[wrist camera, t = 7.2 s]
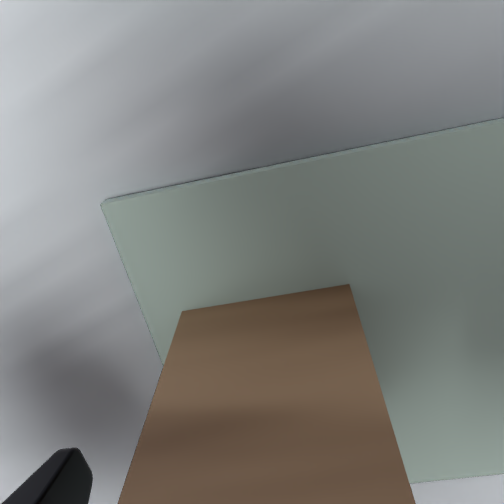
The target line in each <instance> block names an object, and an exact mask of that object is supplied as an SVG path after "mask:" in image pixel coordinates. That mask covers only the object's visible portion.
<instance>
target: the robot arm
mask: <svg viewBox="0 0 504 504" xmlns="http://www.w3.org/2000/svg"><path fill="white" fill-rule="evenodd" d="M92 481H93V477H92V472H91V469H90V468H89V466H88V464H87V462H86V460H85V458H84V457H83V455H82V453H81V451H80V450H79V449H78V448H66V449H60V450H58V451H57V452H56V453H54V454H53V455H52V456H51V457H50V458H49V459H48V460H47V461H46V462H45V463H44V464H43V465H42V466H41V467H40V468H39V469H38V470H37V471H35V472H34V473H33V474H32V475H31V476H30V477H29V478H28V479H27V480H26V481H25V482H24V483H23V484H22V485H21V486H20V487H19V488H18V489H17V490H16V491H14V492H13V493H12V494H11V495H10V496H9V497H8V498H7V499H6V500H5V501H4V502H3V503H2V504H88V502H89V497H90V492H91V487H92Z"/></svg>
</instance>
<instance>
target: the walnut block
mask: <svg viewBox="0 0 504 504" xmlns="http://www.w3.org/2000/svg"><path fill="white" fill-rule="evenodd" d="M118 504H415V500H414V497H413V494H412V490H411V487H410V484H409V480H408V477H407V474H406V470H405V467H404V464H403V460H402V457H401V454H400V450H399V447H398V444H397V440H396V437H395V434H394V430H393V427H392V424H391V420H390V417H389V414H388V411H387V407H386V404H385V401H384V397H383V394H382V391H381V387H380V384H379V381H378V377H377V374H376V371H375V367H374V364H373V361H372V357H371V354H370V351H369V347H368V344H367V341H366V337H365V334H364V331H363V327H362V324H361V321H360V317H359V314H358V311H357V307H356V304H355V301H354V297H353V294H352V291H351V288H350V284H346V285H340V286H333V287H327V288H321V289H315V290H309V291H303V292H297V293H290V294H284V295H278V296H272V297H266V298H260V299H254V300H248V301H241V302H235V303H229V304H223V305H217V306H211V307H205V308H199V309H192V310H186V311H182V312H181V315H180V318H179V321H178V324H177V327H176V330H175V333H174V336H173V339H172V342H171V345H170V348H169V351H168V354H167V357H166V360H165V363H164V366H163V369H162V372H161V375H160V378H159V381H158V384H157V387H156V390H155V393H154V396H153V399H152V402H151V405H150V408H149V411H148V414H147V417H146V420H145V423H144V426H143V429H142V432H141V435H140V438H139V441H138V444H137V447H136V450H135V453H134V456H133V459H132V462H131V465H130V468H129V471H128V474H127V477H126V480H125V483H124V486H123V489H122V492H121V495H120V498H119V501H118Z"/></svg>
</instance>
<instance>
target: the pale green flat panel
mask: <svg viewBox="0 0 504 504" xmlns="http://www.w3.org/2000/svg"><path fill="white" fill-rule="evenodd" d="M100 205H101V208H102V211H103V213H104V216H105V218H106V221H107V223H108V226H109V228H110V231H111V234H112V236H113V239H114V241H115V244H116V246H117V249H118V252H119V254H120V257H121V259H122V262H123V264H124V267H125V269H126V272H127V275H128V277H129V280H130V282H131V285H132V287H133V290H134V293H135V295H136V298H137V300H138V303H139V305H140V308H141V310H142V313H143V316H144V318H145V321H146V323H147V326H148V328H149V331H150V334H151V336H152V339H153V341H154V344H155V346H156V349H157V351H158V354H159V357H160V359H161V362H162V364H163V366H164V363H165V360H166V357H167V354H168V351H169V348H170V345H171V342H172V339H173V336H174V333H175V330H176V327H177V324H178V321H179V318H180V315H181V312H182V311H186V310H192V309H199V308H205V307H211V306H217V305H223V304H229V303H235V302H241V301H248V300H254V299H260V298H266V297H272V296H278V295H284V294H290V293H297V292H303V291H309V290H315V289H321V288H327V287H333V286H340V285H346V284H350V288H351V291H352V294H353V297H354V301H355V304H356V307H357V311H358V314H359V317H360V321H361V324H362V327H363V331H364V334H365V337H366V341H367V344H368V347H369V351H370V354H371V357H372V361H373V364H374V367H375V371H376V374H377V377H378V381H379V384H380V387H381V391H382V394H383V397H384V401H385V404H386V407H387V411H388V414H389V417H390V420H391V424H392V427H393V430H394V434H395V437H396V440H397V444H398V447H399V450H400V454H401V457H402V460H403V464H404V467H405V470H406V474H407V477H408V480H409V484H411V483H420V482H430V481H440V480H450V479H460V478H469V477H479V476H489V475H499V474H504V118H500V119H495V120H490V121H486V122H481V123H476V124H471V125H466V126H461V127H456V128H452V129H447V130H442V131H437V132H432V133H427V134H422V135H418V136H413V137H408V138H403V139H398V140H393V141H388V142H384V143H379V144H374V145H369V146H364V147H359V148H354V149H350V150H345V151H340V152H335V153H330V154H325V155H320V156H316V157H311V158H306V159H301V160H296V161H291V162H286V163H282V164H277V165H272V166H267V167H262V168H257V169H252V170H248V171H243V172H238V173H233V174H228V175H223V176H218V177H214V178H209V179H204V180H199V181H194V182H189V183H184V184H179V185H175V186H170V187H165V188H160V189H155V190H150V191H145V192H141V193H136V194H131V195H126V196H121V197H116V198H111V199H107V200H104V201H103V202H102V203H101V204H100Z"/></svg>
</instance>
